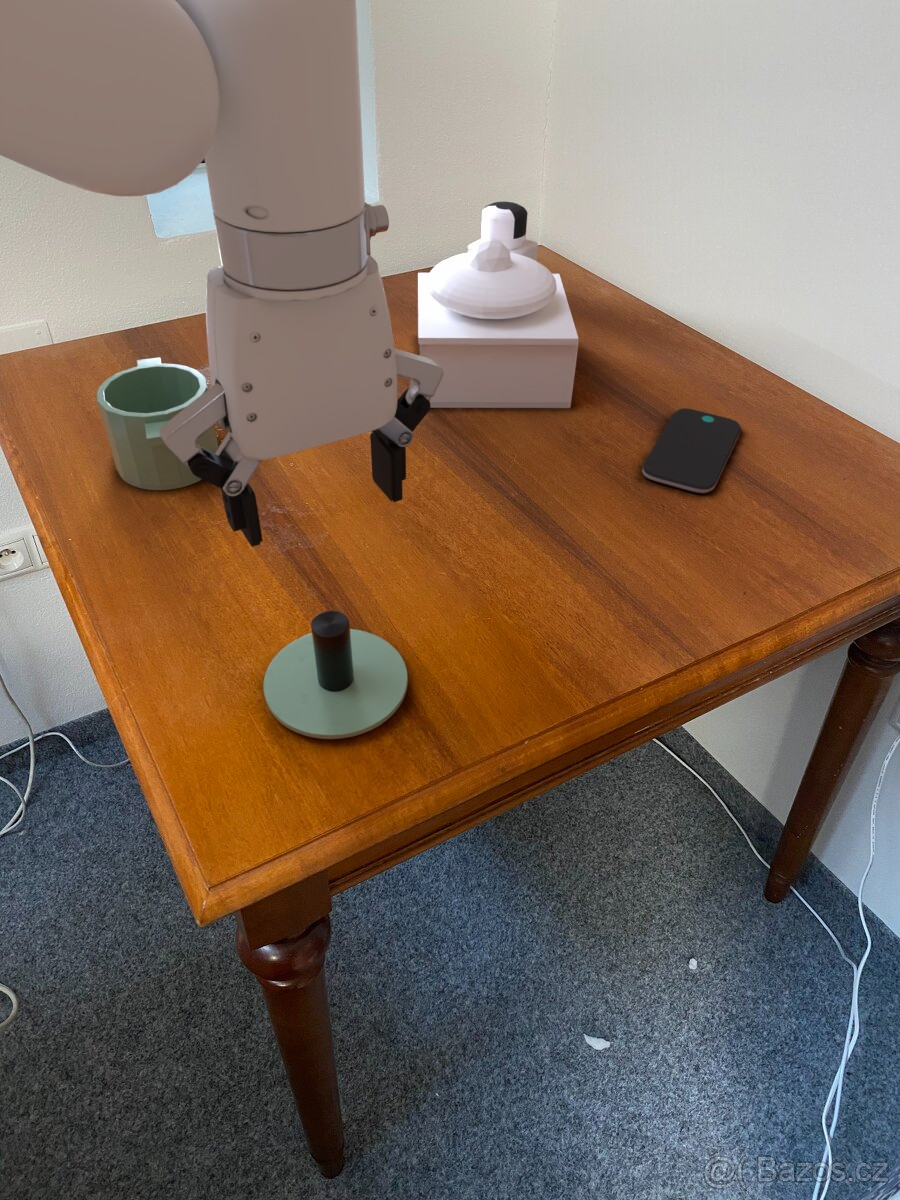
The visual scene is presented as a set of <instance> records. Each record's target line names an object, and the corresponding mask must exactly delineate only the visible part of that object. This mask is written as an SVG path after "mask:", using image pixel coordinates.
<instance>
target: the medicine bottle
mask: <svg viewBox="0 0 900 1200" xmlns="http://www.w3.org/2000/svg"><path fill="white" fill-rule="evenodd" d="M527 225H528V211H527V208H525V207H524V206H523V205H521V204H518V203H516V202H512V201H496V202H492V203H490V204H487V205H485V206H484V208H483V209H482V211H481V228H480V229H481V232H480V238H479V239H478V240H476V241H473V242H471V243H470V244H469V245H467V248H466V249H467V252H471V251H472V250H473V248H474V247H475V246H476V245H477V244H479V243H481V242H482V241H484V240H486V239H490V240H497V241H501V242H502V243H503V244H504V246H505V247H506V248H507V249H508V250H509V251H510V253H514V254H519V255H522V256H525V257H528V258H531V259H533V260H535V261H537V259H538V247H539V243H538V242H537V241H534V240H530V239H527ZM467 252H466V253H467Z"/></svg>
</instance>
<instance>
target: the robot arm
mask: <svg viewBox="0 0 900 1200" xmlns="http://www.w3.org/2000/svg"><path fill="white" fill-rule="evenodd" d="M356 3H357V2H356V0H0V156H1V157H3V158H5V159H8V160H10V161H12V162H15V163H17V164H19V165H22V166H25V167H26V168H29V169H31V170H32V171H33V170H34V171H36V172H39V173H41V174H43V175H46V176H48V177H50V178H53V179H55V180H57V181H59V182H62V183H65V184H67V185H69V186H72V187H74V188H78V189H81V190H84V191H88V192H92V193H95V194H101V195H106V196H112V197H117V198H118V197H119V198H131V197H132V198H133V197H137V198H138V197H141V198H142V197H145V196H151V195H155V194H160V193H162V192H164V191H167V190H169V189H171V188H173V187H175V186H177V185H179V184H180V183H182V182H183V181H184V180H185V179H187V178H188V177H189V176H190V175H192V174H193V173H194V171H195V170H196V169H197V168H198V166H199V165H200V164H201V163H202V162H203V161H204V164H205V169H206V175H207V181H208V182H207V183H208V189H209V195H210V202H211V207H212V211H213V212H212V213H213V220H214V226H215V234H216V238H217V245H218V252H219V258H220V264H221V265H220V266H217V267H214V268H212V269H211V270H209V272H208V273H207V275H206V288H205V289H206V291H205V325H206V343H207V357H208V369H209V377H210V386H211V387H209V389H208V390H207V391H206V392H205V393H204V394H202V395H201V396H200V397H198V398H197V399H196V400H195V401H193V402H192V403H191V404H190V405H188V406H187V407H186V408H184V409H183V410H182V411H181V412H179V413H178V414H177V415H176V416H174V417H173V418H172V419H170V420H169V421H168V422H167V423H165V424H164V425H163V426H162V427H161V428H160V431H159V433H160V436H161V438H162V439H163V441H164V443H165V444H166V446H167V448H168V449H169V450H170V451H171V452H172V453H173V454H174V455H175V456H176V457H177V458H178V459H179V460H180V461H181V462H182V463H183V464H185V465H186V466H187V467H188V468H189V469H190V470H191V472H192V473H193V475H195V476H197V477H199V478H201V479H202V481H205V482H206V483H209V484H211V485H213V486H214V487H217V488H220V490H221V497H222V501H223V506H224V513H225V516H226V517H225V518H226V520H227V522H228V525H229V527H230V529H231V530H232V531H233V532H238V531H241V533H242V534H243V535H244V537H245V539H246V541H247V542H248V544H249V545H250V546H251V548H253V547H257V546H260V545H261V542H263V541H264V540H263V534H262V528H261V522H260V515H259V508H258V503H257V498H256V494H255V492H254V489H253V488H252V487H251V484H250V481H251V479H252V477H253V476H254V474H255V473H256V472H257V469H258V468H259V466H260V465H261V463H262V462H263V461H267V460H273V459H277V458H280V457H285V456H287V455H292V454H295V453H299V452H302V451H307V450H310V449H313V448H318V447H320V446H321V447H322V446H324V445H328V444H331V443H335V442H338V441H343V440H345V439H349V438H353V437H356V436H360V435H364V434H367V433H370V434H369V436H370V438H369V439H370V457H371V458H370V459H371V476H372V481H373V482H374V484H376V486H377V487H378V488H379V489H380V491H381V492H382V493H383V494H384V495H385V496H386V498H387V499H388V500H389V501H390V502H393V503H397V502H400V501H402V500H403V481H405V480H406V479H407V453H406V452H407V448H406V447H408V446H410V445H411V444H412V442H413V441H414V437H415V435H414V433H413V432H414V431H415V430H416V428H417V427H418V426H419V425H420V423H421V422H422V420H423V419H424V418H425V417H426V415H427V414H428V413H429V412H430V409H431V408H430V402H429V401H430V399H431V397H433V396H434V394H435V392H436V389H437V387H438V385H439V383H440V381H441V378H442V376H443V369H442V368H441V367H440V366H439V365H438V364H436V363H435V362H434V361H433V360H432V359H429V358H426V357H422V356H420V354H416V353H412V352H409V351H405V350H402V349H398V348H396V347H395V340H394V335H393V334H394V333H393V327H392V321H391V315H390V310H389V306H388V301H387V296H386V292H385V288H384V283H383V280H382V275H381V272H380V269H379V265H378V262H377V260H376V259H375V258H373V256H371V254H372V253H371V239H372V237H375V236H376V235H377V234H378V233H379V234H380V233H384V232H387V231H388V229H389V227H390V217H389V213H388V211H387V208H386V207H385V206H384V205H383V204H376V205H371V204H369V203H367V202H366V195H365V194H366V193H365V172H364V152H363V151H364V150H363V128H362V125H363V124H362V108H361V104H362V103H361V85H360V84H361V82H360V63H359V62H360V61H359V60H360V58H359V40H358V15H357V14H358V13H357V4H356ZM398 377H401V378H405V379H409V381H410V382H409V384H408V386H409V387H407V388H406V389H405V390H404V391H403V393H402V394H401V395H400V396H399V397H398V395H399V394H398V392H399V391H398V389H399V387H398ZM216 424H219V425H220V427H221V429H222V430H223V431H226V430H228V431H227V433H226V435H225V436H224V438H223V440H222V441H221V443H220V445H218V447H219V448H218V450H217V451H216V453H215V454H214V453H212V452H210V451H208V450H206V449H204V448H202V447H201V446H199V445H198V444H197V443H196V442H197V439H198V438H199V437H200V436H201V435H202V434H204V433H205V432H206V431H207V430H209V429H210V428H211V427H213V426H215V425H216Z"/></svg>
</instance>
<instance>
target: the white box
mask: <svg viewBox="0 0 900 1200" xmlns="http://www.w3.org/2000/svg"><path fill="white" fill-rule="evenodd" d="M417 341H418V342H417V344H418V345H419V356H422V357H426V358H429V359H432V360H433V361H434V362H435V363H436V364H438V365H439V366H440V367H441V368H442V369H443V376H442V378H441V381H440V383H439V385H438V387H437V389H436V392H435V394H434V396H433V397H431V399H430V401H429V402H430V409H432V408H433V409H470V408H471V409H571V406H572V398H573V390H574V382H575V373H576V367H577V358H578V351H579V344H580V343H579V342H580V341H579V335H578V331H577V329H576V326H575V321H574V319H573V316H572V313H571V309H570V306H569V302H568V298H567V295H566V291H565V288H564V285H563V281H562V278H561V275H560V273H552V272H551V271H550V270H549V268H547V267H546V266H545V265H543V264H542V263H541V262H538V261H537V260H536V261H535V260H533V259H531V258H528V257H525V256H522V255H519V254H514V253H510V251H509V250H508V249H507V248H506V247H505V246H504V244H503V243H502V242H501V241H497V240H490V239H486V240H484V241H482V242H481V243H479V244H477V245H476V246H475V247H474V248H473V250H472V251H471V252H463V253H458V254H455V255H453V256H451V257H448V258H447V259H446V258H445V259H444V260H442V261H440V262H439V263H437V264H436V265H435V266H434V267H433V268H432V269H431V270H430V272H418V273H417Z"/></svg>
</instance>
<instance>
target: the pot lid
mask: <svg viewBox="0 0 900 1200" xmlns="http://www.w3.org/2000/svg"><path fill="white" fill-rule="evenodd" d="M310 623H311V624H310V627H311V633H308V634H305V635H303V636H301V637H298V638H296V639H295V640H293V641H292V642H289V643H288V644H287V645H286V646H284V647H283V648H281V650H280V651H279V652H277V654H276V655H275V656H274V657H273V658H272V660H271V662H270V663H269V665H268V666H267V669H266V671H265V675H264V678H263V684H262V685H263V686H262V687H263V695H264V696H263V697H264V700H265V703H266V705H267V707H268V709H269V712H270V713H271V714H272V716H273V717H274V718H275V719H276V721H278V722H279V723H280V724H281V725H283V726H284V727H286V728H287V729H289V730H291V731H293V732H294V733H296V734H299V735H303V736H306V737H309V738H314V739H322V740H339V739H346V738H353V737H355V736H359V735H363V734H365V733H367V732H370V731H372V730H374V729H376V728H378V727H379V726H381V725H383V724H384V723H385V722H386V721H388V720H389V719H390V718H391V717H392V716H393V715H394V714H395V713H396V711H397V710H398V709H399V708H400V706H401V704H402V703H403V701H404V698H405V696H406V694H407V690H408V681H409V680H408V679H409V677H408V669H407V667H406V666H407V665H406V663H405V660H404V659H403V656H402V655H401V654H400V653H399V651H398V650H397V649H396V648H395V647H394V646H393V645H392V644H391V643H389V642H388V641H387V640H386V639H384V638H382V637H380V636H378V635H376V634H373V633H370V632H367V631H364V630H360V629H353V628H351V625H350V620H349V617H348V616H347V615H346V614H345V613H343V612H341V611H337V610H326V611H322V612H320V613H318V614H317V615H315V616H314V617H313V619H312V620H311V622H310Z"/></svg>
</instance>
